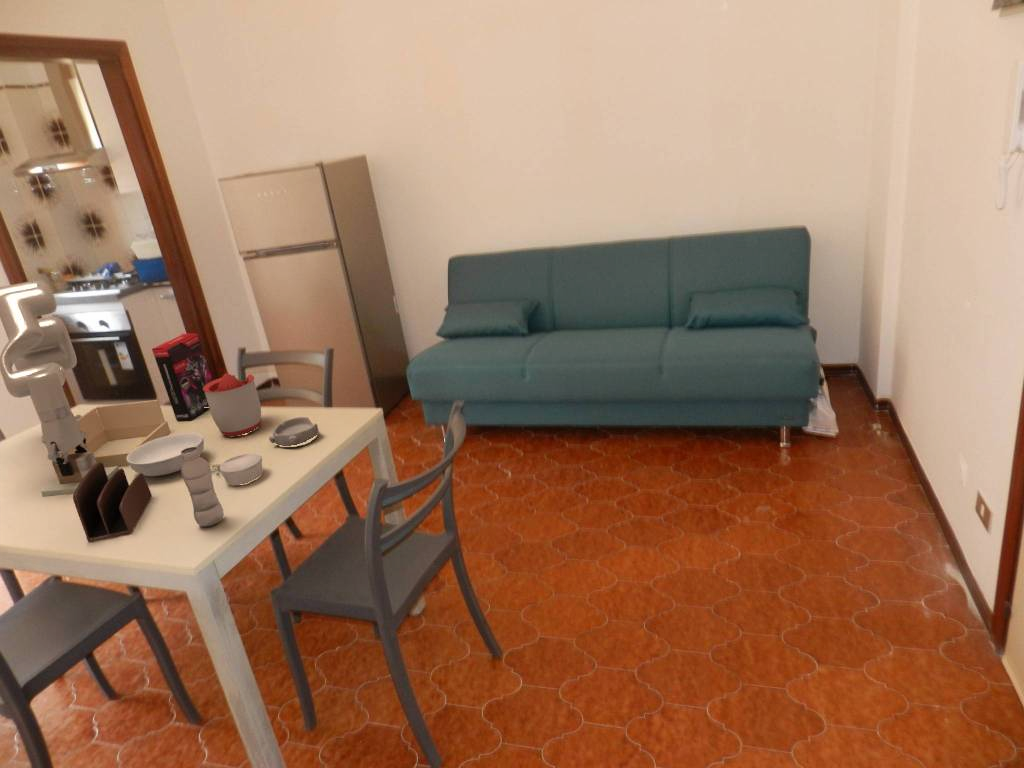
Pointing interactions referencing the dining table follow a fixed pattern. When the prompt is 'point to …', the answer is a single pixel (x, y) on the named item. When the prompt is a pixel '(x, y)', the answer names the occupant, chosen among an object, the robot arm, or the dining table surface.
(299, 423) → the dish
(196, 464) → the plastic bottle
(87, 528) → the letter holder
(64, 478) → the walnut box
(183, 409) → the graphics card box
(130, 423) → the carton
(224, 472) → the ramekin
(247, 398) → the citrus juicer
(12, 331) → the robot arm
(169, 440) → the serving bowl
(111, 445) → the dining table surface
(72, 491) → the board
